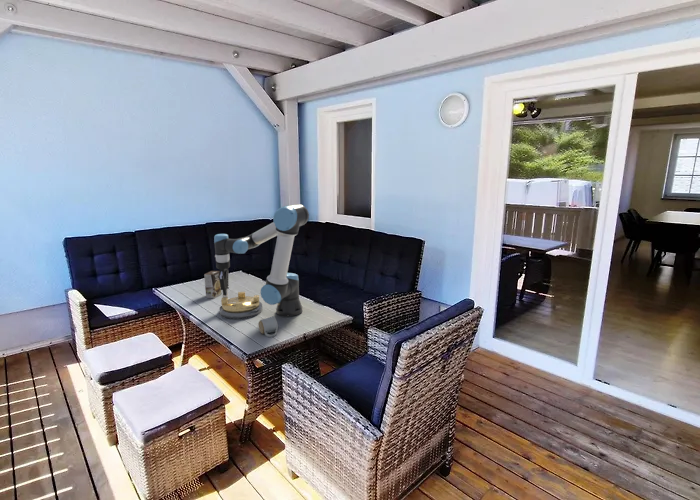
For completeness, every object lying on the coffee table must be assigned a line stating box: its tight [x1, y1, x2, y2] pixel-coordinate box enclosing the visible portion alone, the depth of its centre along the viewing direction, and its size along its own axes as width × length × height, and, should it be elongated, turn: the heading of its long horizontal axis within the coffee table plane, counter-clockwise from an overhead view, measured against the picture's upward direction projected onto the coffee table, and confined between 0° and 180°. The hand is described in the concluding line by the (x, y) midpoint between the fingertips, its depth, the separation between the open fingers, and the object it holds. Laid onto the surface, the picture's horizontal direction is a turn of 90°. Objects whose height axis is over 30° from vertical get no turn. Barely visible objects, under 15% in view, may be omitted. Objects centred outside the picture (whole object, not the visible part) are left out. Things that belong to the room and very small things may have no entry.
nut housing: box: [218, 301, 263, 320], centre depth 215 cm, size 24×24×3 cm
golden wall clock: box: [220, 291, 260, 313], centre depth 214 cm, size 21×21×6 cm
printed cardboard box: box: [203, 270, 223, 299], centre depth 239 cm, size 9×6×16 cm
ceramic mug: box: [257, 315, 279, 338], centre depth 185 cm, size 11×8×8 cm
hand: (225, 299), depth 214 cm, fingers closed
